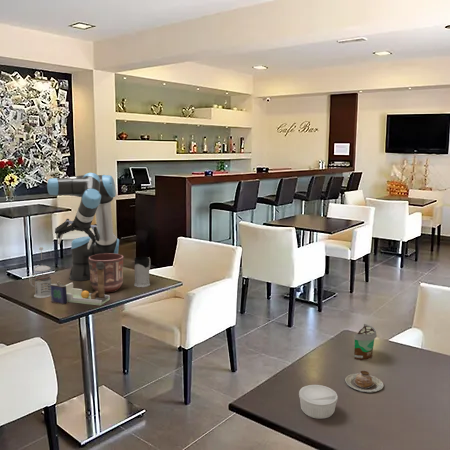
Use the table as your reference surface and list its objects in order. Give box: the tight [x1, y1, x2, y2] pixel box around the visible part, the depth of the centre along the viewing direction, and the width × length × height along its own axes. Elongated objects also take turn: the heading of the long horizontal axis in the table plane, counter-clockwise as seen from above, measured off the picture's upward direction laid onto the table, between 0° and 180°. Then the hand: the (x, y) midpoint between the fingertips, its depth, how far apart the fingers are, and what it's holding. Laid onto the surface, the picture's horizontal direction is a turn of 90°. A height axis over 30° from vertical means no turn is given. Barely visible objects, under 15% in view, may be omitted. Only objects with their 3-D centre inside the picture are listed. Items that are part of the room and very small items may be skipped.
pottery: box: [88, 253, 125, 294], centre depth 255 cm, size 18×18×18 cm
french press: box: [28, 246, 52, 299], centre depth 245 cm, size 10×12×25 cm
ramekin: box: [298, 384, 338, 420], centre depth 141 cm, size 11×11×5 cm
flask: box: [50, 280, 68, 305], centre depth 235 cm, size 9×3×11 cm, turn 65°
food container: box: [353, 323, 378, 361], centre depth 177 cm, size 12×6×10 cm, turn 148°
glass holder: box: [133, 256, 151, 288], centre depth 267 cm, size 9×14×15 cm, turn 162°
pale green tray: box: [65, 281, 111, 306], centre depth 238 cm, size 9×22×7 cm, turn 74°
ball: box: [81, 290, 90, 299], centre depth 239 cm, size 4×4×4 cm
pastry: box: [344, 370, 384, 394], centre depth 157 cm, size 12×12×5 cm
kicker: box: [91, 262, 108, 301], centre depth 235 cm, size 6×6×19 cm
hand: (73, 244), depth 229 cm, fingers open, 13 cm apart
